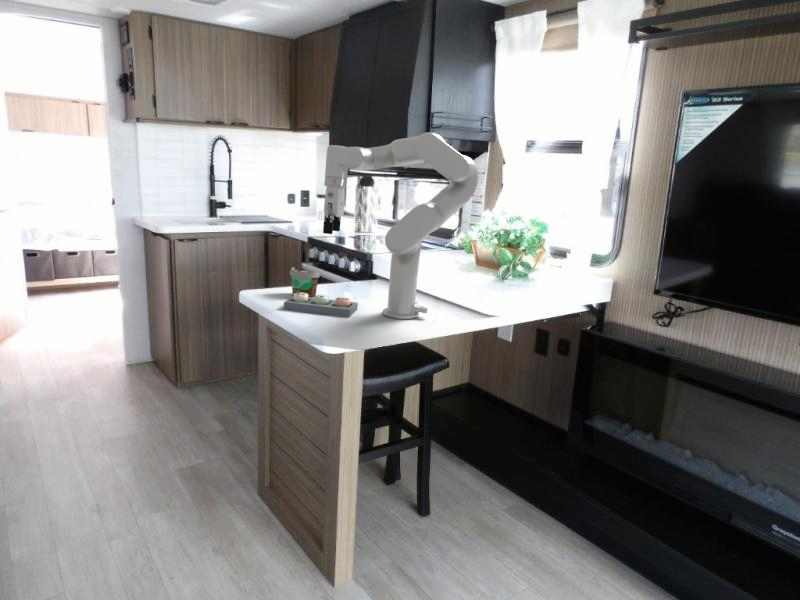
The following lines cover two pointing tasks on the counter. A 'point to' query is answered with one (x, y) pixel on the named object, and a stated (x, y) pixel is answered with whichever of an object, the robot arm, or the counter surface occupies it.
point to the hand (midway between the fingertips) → (331, 232)
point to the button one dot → (321, 299)
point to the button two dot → (300, 297)
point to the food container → (304, 282)
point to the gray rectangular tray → (320, 307)
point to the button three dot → (342, 302)
